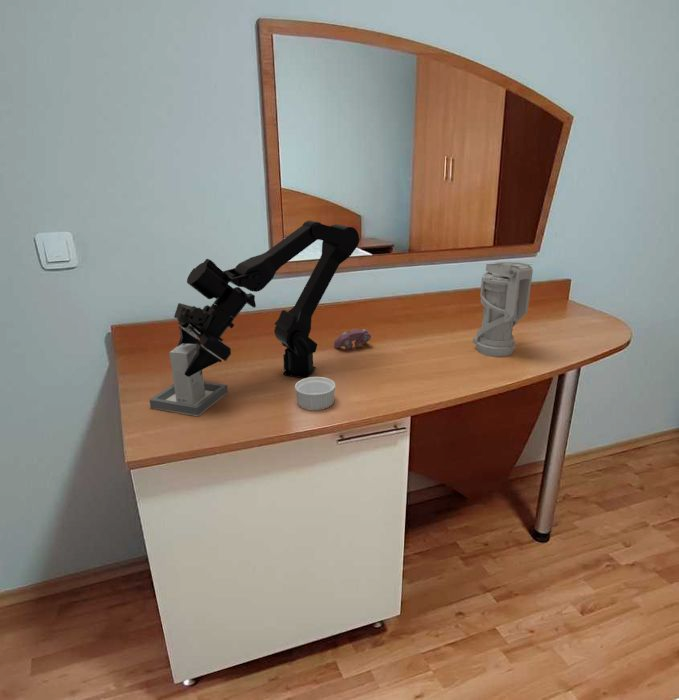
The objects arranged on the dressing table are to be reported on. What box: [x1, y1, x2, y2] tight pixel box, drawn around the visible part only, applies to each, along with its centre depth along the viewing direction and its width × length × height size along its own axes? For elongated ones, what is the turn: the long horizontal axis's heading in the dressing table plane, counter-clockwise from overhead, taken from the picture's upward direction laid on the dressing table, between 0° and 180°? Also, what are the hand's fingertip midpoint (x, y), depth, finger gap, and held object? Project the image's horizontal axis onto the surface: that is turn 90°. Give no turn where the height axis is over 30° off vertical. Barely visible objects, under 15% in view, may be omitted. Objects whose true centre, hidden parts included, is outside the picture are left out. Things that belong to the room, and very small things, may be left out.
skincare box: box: [168, 344, 205, 405], centre depth 113 cm, size 6×4×12 cm
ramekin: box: [294, 376, 336, 411], centre depth 113 cm, size 9×9×4 cm
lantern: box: [472, 261, 534, 358], centre depth 136 cm, size 13×10×25 cm
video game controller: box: [333, 328, 372, 350], centre depth 143 cm, size 10×5×7 cm, turn 115°
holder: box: [149, 380, 229, 417], centre depth 114 cm, size 12×12×2 cm
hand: (179, 368), depth 111 cm, fingers open, 9 cm apart
